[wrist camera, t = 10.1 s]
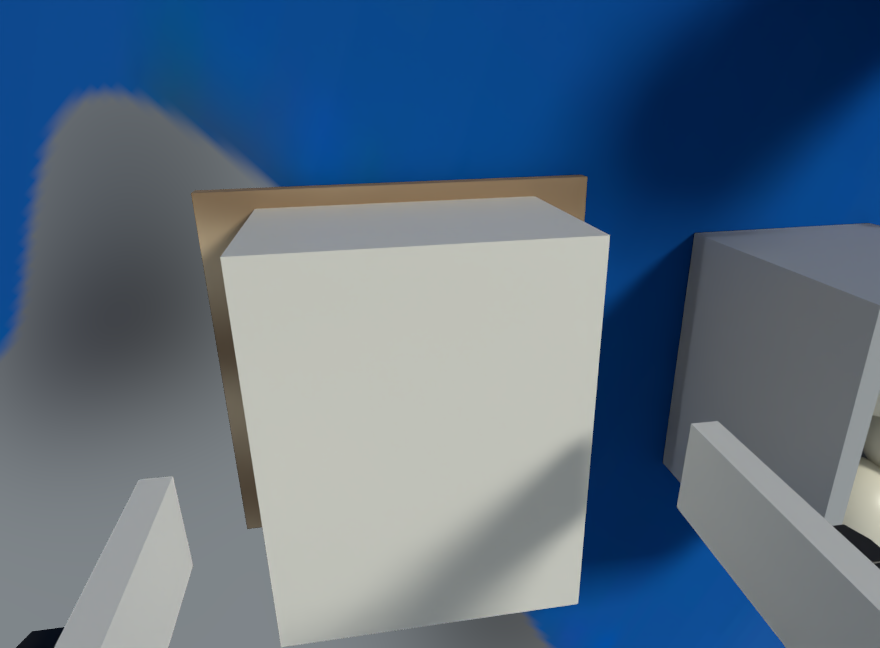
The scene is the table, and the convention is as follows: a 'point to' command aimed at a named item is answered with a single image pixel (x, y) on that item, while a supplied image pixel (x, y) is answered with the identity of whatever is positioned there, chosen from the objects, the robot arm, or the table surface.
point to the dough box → (788, 360)
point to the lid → (417, 406)
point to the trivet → (232, 207)
